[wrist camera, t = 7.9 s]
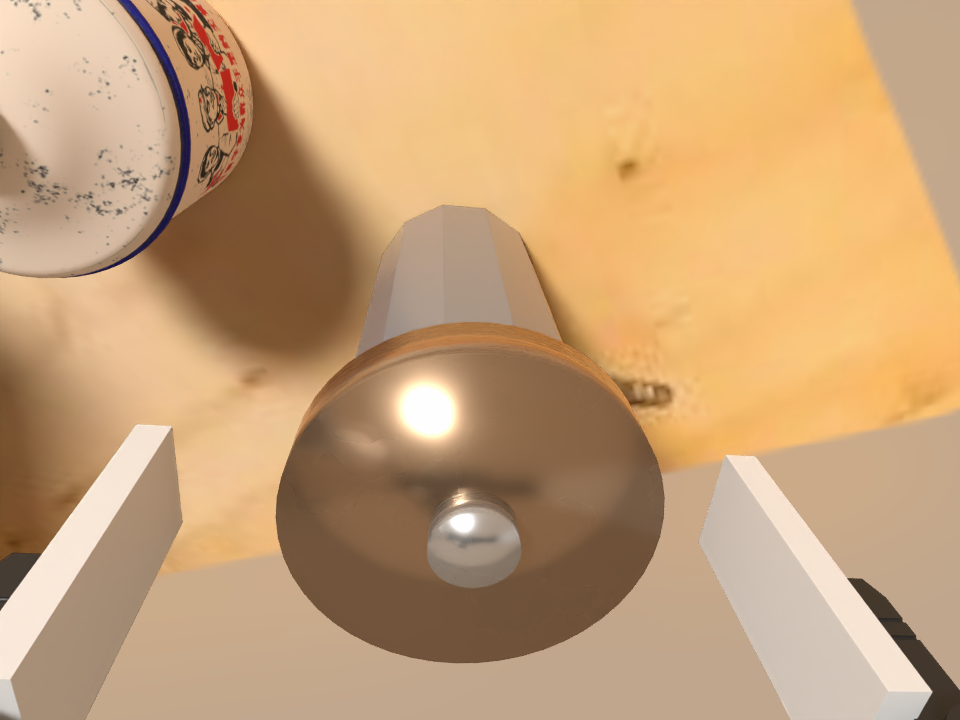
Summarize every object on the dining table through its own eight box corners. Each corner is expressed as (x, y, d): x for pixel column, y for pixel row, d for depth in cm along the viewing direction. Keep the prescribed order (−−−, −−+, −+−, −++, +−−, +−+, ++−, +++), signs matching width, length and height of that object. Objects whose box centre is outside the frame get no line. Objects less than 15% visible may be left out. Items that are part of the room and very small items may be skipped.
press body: (375, 397, 32) (333, 636, 20) (384, 199, 28) (338, 339, 15) (514, 406, 33) (559, 644, 20) (542, 213, 29) (622, 360, 16)
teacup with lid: (288, 192, 28) (196, 293, 17) (68, 223, 28) (-157, 341, 17) (197, -170, 22) (-16, -342, 12) (-74, -132, 22) (-522, -268, 12)
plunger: (348, 390, 29) (272, 686, 16) (353, 186, 25) (259, 356, 12) (547, 403, 30) (630, 696, 17) (581, 207, 26) (721, 388, 13)
